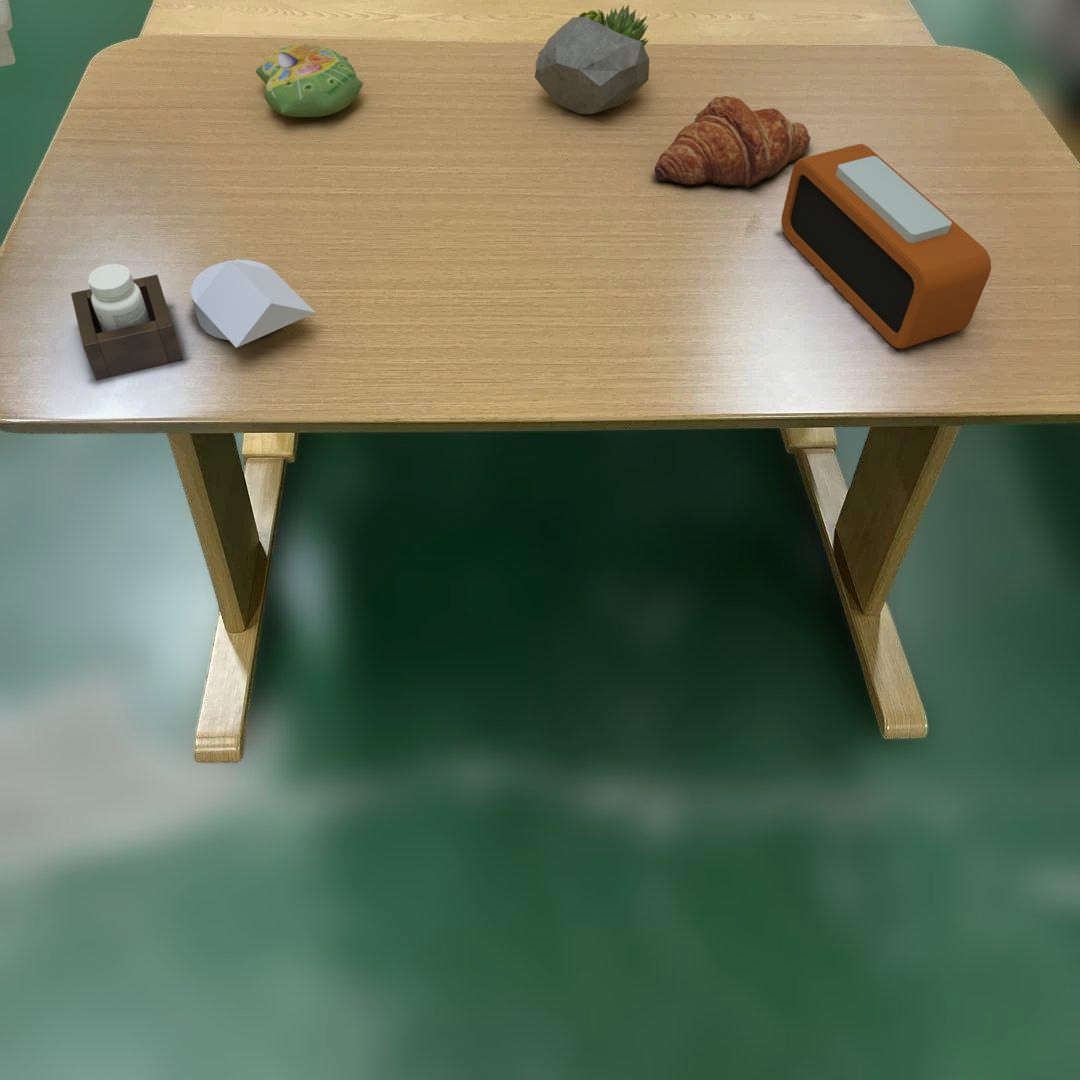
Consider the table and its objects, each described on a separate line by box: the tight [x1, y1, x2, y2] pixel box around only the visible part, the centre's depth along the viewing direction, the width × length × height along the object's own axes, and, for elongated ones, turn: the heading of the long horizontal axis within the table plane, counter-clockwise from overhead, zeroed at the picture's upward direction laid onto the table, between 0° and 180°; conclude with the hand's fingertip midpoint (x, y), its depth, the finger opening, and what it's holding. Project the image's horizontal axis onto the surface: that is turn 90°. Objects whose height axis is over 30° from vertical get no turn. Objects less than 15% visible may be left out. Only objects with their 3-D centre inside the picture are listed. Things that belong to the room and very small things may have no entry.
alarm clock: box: [781, 143, 992, 350], centre depth 119 cm, size 24×8×11 cm, turn 25°
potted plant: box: [534, 4, 650, 115], centre depth 142 cm, size 12×13×15 cm
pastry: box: [654, 95, 811, 189], centre depth 134 cm, size 17×15×8 cm
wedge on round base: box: [190, 259, 316, 349], centre depth 114 cm, size 9×7×13 cm
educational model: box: [255, 43, 364, 118], centre depth 142 cm, size 13×16×5 cm
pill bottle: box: [87, 263, 151, 332], centre depth 110 cm, size 5×5×8 cm
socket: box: [70, 274, 184, 381], centre depth 112 cm, size 9×9×4 cm
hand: (0, 36), depth 99 cm, fingers open, 8 cm apart
